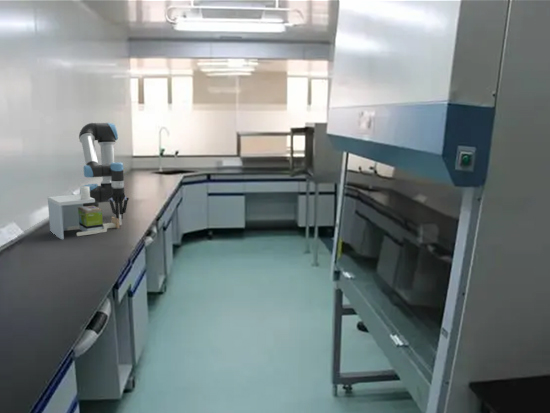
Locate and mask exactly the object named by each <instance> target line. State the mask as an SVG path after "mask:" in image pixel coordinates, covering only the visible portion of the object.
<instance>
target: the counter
mask: <svg viewBox="0 0 550 413" xmlns="http://www.w3.org/2000/svg"><path fill="white" fill-rule="evenodd" d="M93 202H95V199H94V198H91V197H90V199H81V195H80V193H76V194H65V195H64V194H63V195H55V196H52V195H51V196H47V205H48V206H47V207H48V218H49V220H48V221H49V232H50V231H51V232H52V233H53V235H54V234H55V235H56V236H55V235H54V236H55V237H57V238H59V239H60V240H65V239H64V238H65V236H64V231H65V232H66V231H68V230H67V227H70V226H78V225H79V214H78V207H83V203H93ZM51 232H50V233H51ZM52 233H51V234H52Z"/></svg>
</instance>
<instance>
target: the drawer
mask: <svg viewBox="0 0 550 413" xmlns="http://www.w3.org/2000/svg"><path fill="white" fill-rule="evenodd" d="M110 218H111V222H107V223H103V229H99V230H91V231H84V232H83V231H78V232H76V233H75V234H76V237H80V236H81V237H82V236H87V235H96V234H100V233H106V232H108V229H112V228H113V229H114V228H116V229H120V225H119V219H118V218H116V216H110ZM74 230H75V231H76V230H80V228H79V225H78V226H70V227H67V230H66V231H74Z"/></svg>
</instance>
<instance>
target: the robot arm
mask: <svg viewBox="0 0 550 413" xmlns="http://www.w3.org/2000/svg"><path fill="white" fill-rule="evenodd" d="M118 138H119V137H118V130H117V127H116V124H115V123H112V122H89V123H87V124H85V125H84V126H83V127H82V128H81V130H80V132H79V134H78V139H79V142H80V143H81V145H82V146H81V147H82V151H83V156H84V161H85V165H83V176H84V178H102V181H101V182H100V185H99V184H97V183H89V184H84V185H81V186H80V187H82V186H89V187H90V197H91V198H94V199H95V202H93V203H83V207H85V206H93V205H94V206H96V207H98V208H100V206H99V204H100V203H101V204H102V203H109V206H110V209H111V211H112V214H113V215H115V218H118V219H119V226H122V225H123V224H122V222H123V221H122V220H123V218H124V214H125V213H126V212H127V206H128V201H129V199H130V198H129V197H127V196H126V194H125V179H124V178H125V176H124V175H125V174H124V169H125V168H124V163H123V162H119V161H118V162H115V161H116V160H115V150H114V148H115V146H114V145H115V144H116V143H117V142H116V141H117V140H118ZM95 141H97V145H99V146H100V156H101V157H100V160H101V164H99V161H98V155H97V151H96V144H95Z"/></svg>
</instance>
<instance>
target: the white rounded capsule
mask: <svg viewBox="0 0 550 413" xmlns="http://www.w3.org/2000/svg"><path fill="white" fill-rule="evenodd" d="M81 186H82V187H81ZM81 186H79V194H80V195H81V199H90V187H89V186H84V185H81Z"/></svg>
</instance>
